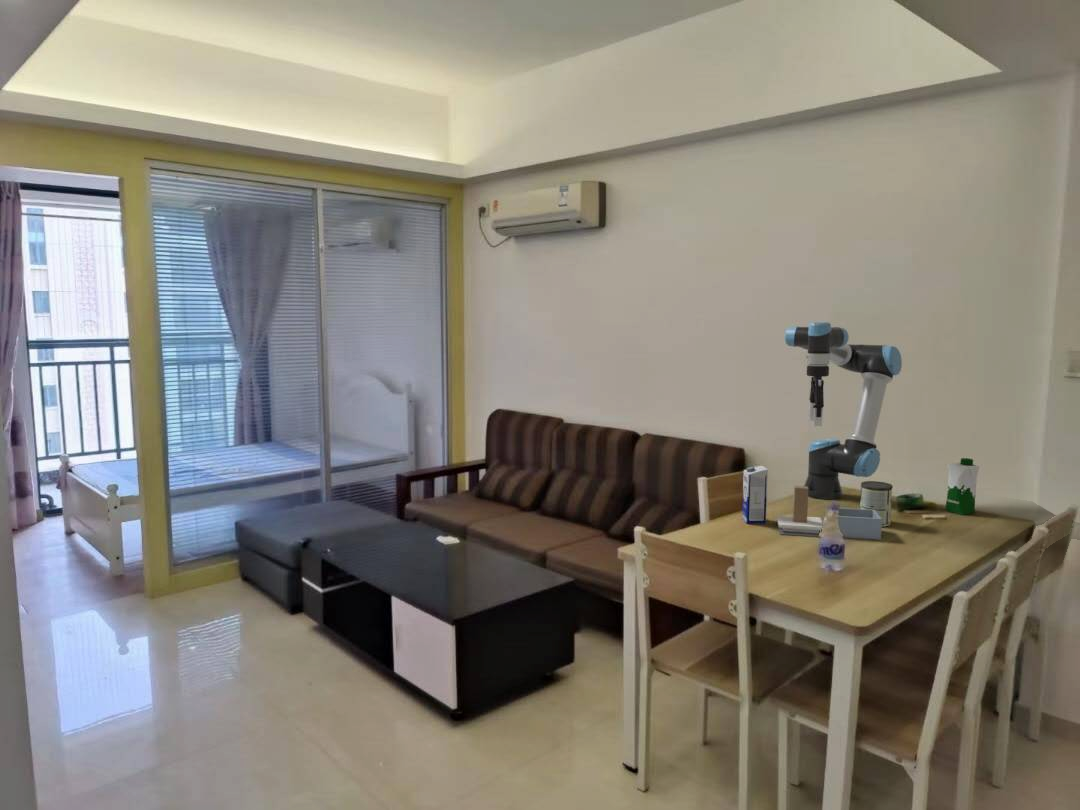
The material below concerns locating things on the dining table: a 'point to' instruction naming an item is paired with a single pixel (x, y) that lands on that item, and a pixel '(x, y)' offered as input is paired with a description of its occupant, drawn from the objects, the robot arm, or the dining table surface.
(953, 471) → the soya milk
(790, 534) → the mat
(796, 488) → the lid
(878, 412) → the robot arm
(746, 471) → the milk carton
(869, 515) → the box
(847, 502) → the dining table surface
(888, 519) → the coffee can
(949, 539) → the dining table surface
